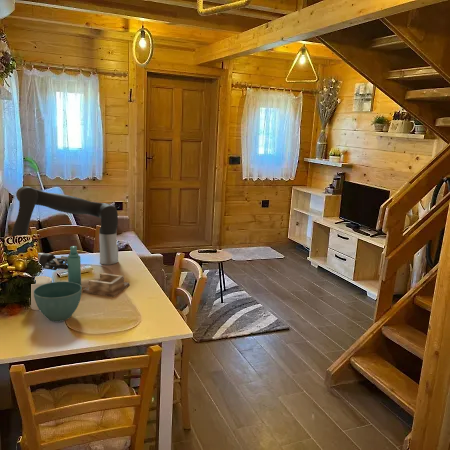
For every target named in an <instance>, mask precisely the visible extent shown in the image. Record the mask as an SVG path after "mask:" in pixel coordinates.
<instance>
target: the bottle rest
mask: <svg viewBox="0 0 450 450" xmlns="http://www.w3.org/2000/svg"><path fill="white" fill-rule="evenodd" d="M124 276H125V275H120V274H119V275H118V274H113V273H105V272H100V273H99V278H98V279H97V280H96V279H95V280H94V279H89V280H88V286H87V287H85V288H83V289H82V293H86V294H93V295H100V296H106V295H107V297H112V298H113V297H116V296H117V295H119V294H120V293H121V292H122V291H123V290H125V289H126V288H128V287H129V286H130V282H126V281H125V279H124V278H125V277H124Z"/></svg>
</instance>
